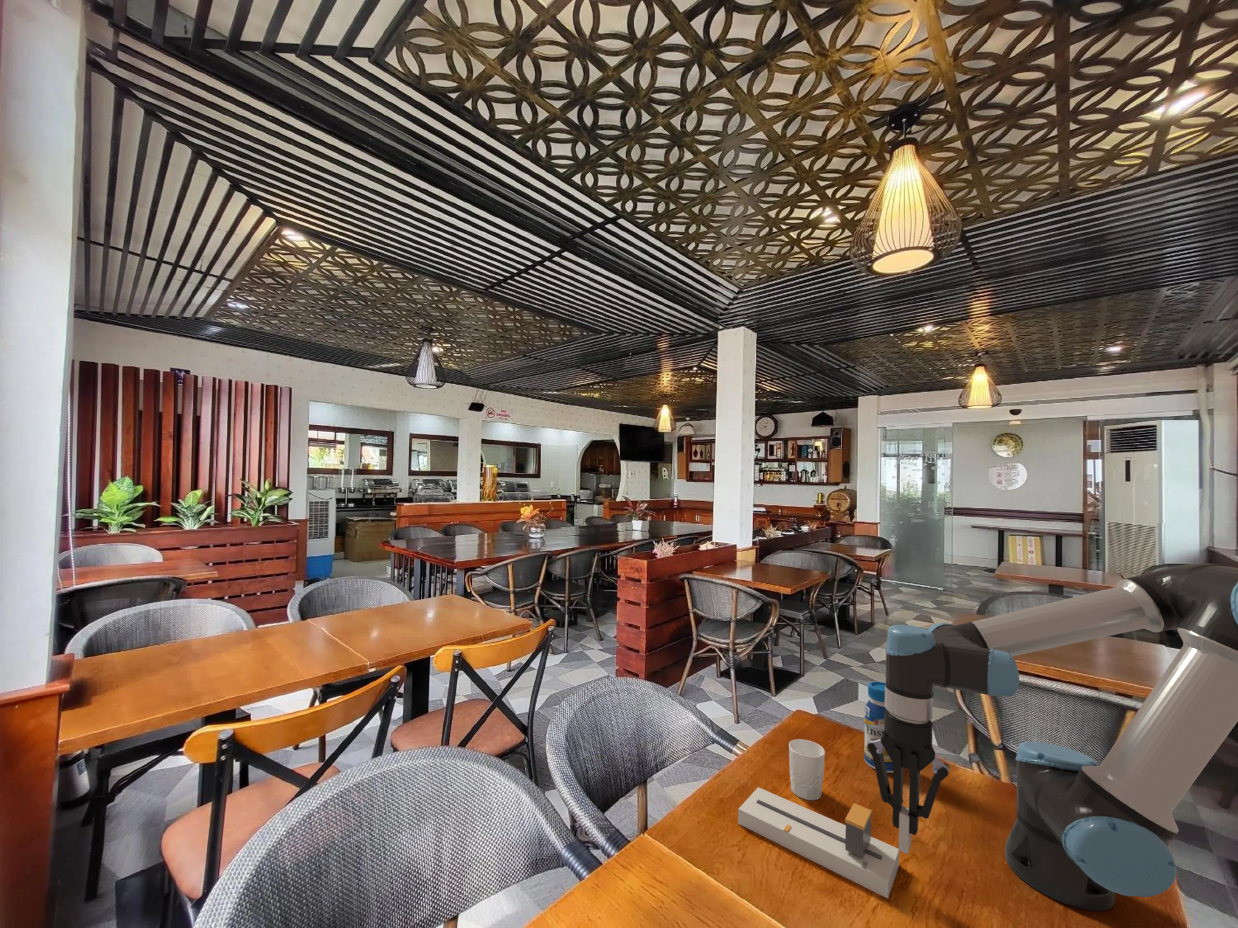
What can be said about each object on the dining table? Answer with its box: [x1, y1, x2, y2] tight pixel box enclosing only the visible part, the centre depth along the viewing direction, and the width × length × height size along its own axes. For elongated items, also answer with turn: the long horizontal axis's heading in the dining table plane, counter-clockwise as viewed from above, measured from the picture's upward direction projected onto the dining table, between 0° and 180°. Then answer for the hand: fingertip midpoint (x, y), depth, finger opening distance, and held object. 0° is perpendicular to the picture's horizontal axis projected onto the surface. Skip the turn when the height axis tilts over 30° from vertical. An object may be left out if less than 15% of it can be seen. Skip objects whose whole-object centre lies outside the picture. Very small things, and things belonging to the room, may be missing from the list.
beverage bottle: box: [863, 681, 893, 774], centre depth 127 cm, size 8×8×20 cm
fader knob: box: [844, 802, 873, 858], centre depth 93 cm, size 3×6×6 cm, turn 141°
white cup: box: [788, 738, 826, 801], centre depth 115 cm, size 8×8×10 cm
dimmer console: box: [737, 786, 900, 899], centre depth 98 cm, size 28×10×3 cm, turn 51°
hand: (904, 847), depth 88 cm, fingers closed
